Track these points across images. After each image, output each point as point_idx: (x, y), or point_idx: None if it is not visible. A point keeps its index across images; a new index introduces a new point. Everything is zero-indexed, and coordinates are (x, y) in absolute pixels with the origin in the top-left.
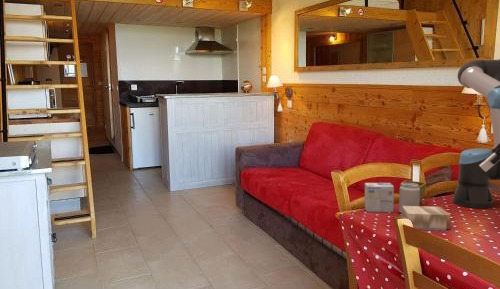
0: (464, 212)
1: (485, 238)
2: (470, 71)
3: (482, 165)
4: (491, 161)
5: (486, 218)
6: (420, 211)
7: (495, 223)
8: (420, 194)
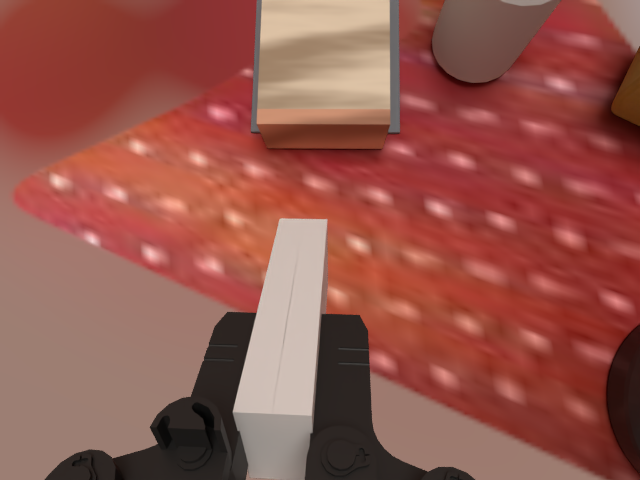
0: (524, 298)
1: (177, 246)
2: None
3: (277, 235)
4: (224, 317)
5: (438, 363)
6: (302, 12)
7: None
8: (633, 89)
